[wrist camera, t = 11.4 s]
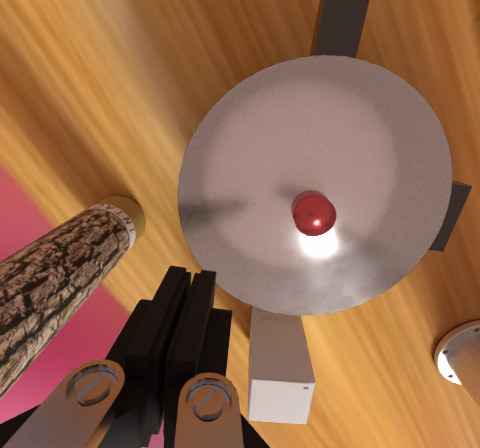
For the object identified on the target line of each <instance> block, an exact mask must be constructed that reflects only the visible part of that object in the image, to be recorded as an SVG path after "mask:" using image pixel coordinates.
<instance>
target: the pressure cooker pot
mask: <svg viewBox="0 0 480 448" xmlns="http://www.w3.org/2000/svg"><path fill="white" fill-rule="evenodd" d="M368 3H369V0H320V4H319V9H318V14H317V20H316V25H315V30H314V36H313V41H312V46H311V52H310V56H319V55H331V56H346V57H351V58H355V57H356V53H357V49H358V45H359V41H360V37H361V32H362V28H363V24H364V20H365V16H366V12H367V7H368ZM471 188H472V186H469V185H467V184H464V183H461V182H458V181H452V187H451V195H450V200H449V205H448V209H447V212H446V215H445V218H444V221H443V223H442V226H441V228H440V230H439V232H438V234H437V236H436V238H435V240H434V242H433V243H432V245H431V246H430V248H429V249H428V250H436V251H444V248H445V246H446V244H447V242H448V239H449V237H450V235H451V233H452V230H453V228H454V226H455V224H456V221H457V219H458V217H459V215H460V212H461V210H462V208H463V206H464V203H465V201H466V199H467V197H468V194H469V192H470V190H471Z"/></svg>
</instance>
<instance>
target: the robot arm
mask: <svg viewBox="0 0 480 448" xmlns="http://www.w3.org/2000/svg"><path fill="white" fill-rule="evenodd" d="M215 283H216V271H208V270H201V273H195V275H194V278H193V281H192V283H191V272H186V268H184V267H176V266H170V267H169V269H168V271H167V273H166V275H165V277H164V279H163V281H162V283H161V284H160V286H159V288H158V290H157V292H156V294H155V296H154V298H153V300H144V299H142V300H140V301H139V302H138V304H137V306H136V307H135V309H134V311H133V312H132V314H131V316H130V317H129V319H128V321H127V322H126V324H125V326H124V328H123V329H122V331H121V333H120V334H119V336H118V338H117V340H116V341H115V343H114V344H113V346H112V348H111V350H110V351H109V353H108V355H107V357H106V358H105V359H100V360H92V361H90V362H87V363H84V364H82V365H80V366H78V367H77V368H75V369H73V370H72V371H71V372H70V373H69V374H68V375H67V376H66V377H65V378H64V379H63V380H62V382H60V383H59V385H58V386H57V387H56V388H55V389H54V390H53V392H52V393H51V394H50V395H49V396H48V397H47V398H46V399H45V400H44V402H43V403H42V404H40V405H38V406H36V407H34V408H32V409H30V410H28V411H26V412H24V413H22V414H20V415H18V416H16V417H14V418H12V419H10V420H8V421H6V422H4V423H2V424H0V448H141V447H148V445H149V442H150V438H151V435H152V434H158V433H159V431H160V427H161V424H162V421H163V417H164V429H163V435H164V448H270V447H269V446H268V445H267V444H266V442H265V441H264V440H263V439H262V438H261V437H260V435H259V434H258V433H257V432H256V431H255V430H254V428H253V427H252V426H251V425H250V424H249V423H248V421H247V420H246V419H245V418H244V417H243V415H242V414H241V413H240V406H239V397H238V394H237V390H236V388H235V387H234V385H233V384H232V382H231V381H230V380H228V379H227V378H226V368H227V358H228V348H229V338H230V328H231V319H232V310H224V309H216V308H213V303H214V293H215ZM434 362H435V365H436V367H437V369H438V370H439V372H440V373H441V374H442V375H443V376H444V377H445V378H446V379H448V380H450V381H452V382H454V383H458V384H462V385H463V387H464V388H465V389H466V390H467V392H468V393H469V394H470V396H471V397H472V398H473V400H474V401H475V402H476V404H477V405H478V406H479V408H480V320H477V321H472V322H469V323H466V324H463V325H461V326H459V327H457V328H455V329H454V330H452V331H450V332H449V333H448V334H447V335H446V336H444V338H443V339H442V340H441V341H440V342H439V344H438V346H437V348H436V350H435V353H434Z"/></svg>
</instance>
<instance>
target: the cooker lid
mask: <svg viewBox="0 0 480 448" xmlns="http://www.w3.org/2000/svg"><path fill="white" fill-rule="evenodd" d="M451 187H452V163H451V154H450V150H449V146H448V141H447V138H446V135H445V133H444V130H443V128H442V125H441V123H440V121H439V119H438V118H437V116H436V114H435V113H434V111H433V109H432V108H431V106H430V105H429V104H428V102H427V101H426V100H425V99H424V98H423V97H422V95H421V94H420V93H419V92H418V91H417V90H416V89H415V88H413V87H412V86H411V85H410V84H409V83H407V82H406V81H405V80H404V79H403V78H401V77H399V76H398V75H396V74H394V73H392V72H391V71H389V70H387V69H386V68H383V67H381V66H378V65H376V64H373V63H370V62H368V61H365V60H360V59H355V58H351V57H346V56H331V55H319V56H309V57H300V58H296V59H292V60H288V61H284V62H280V63H278V64H275V65H273V66H270V67H268V68H265V69H263V70H260V71H259V72H257V73H255V74H253V75H252V76H250V77H248V78H246V79H245V80H243V81H242V82H240V83H239V84H238V85H236V86H235V87H234V88H232V89H231V90H230V91H228V92H227V93H226V94H225V95H224V96H223V97H222V98H221V99H220V100H219V101H218V102H217V103H216V104H215V105H214V106H213V107H212V108H211V109H210V111H209V112H208V113H207V115H206V116H205V117H204V119H203V120H202V121H201V123H200V124H199V126H198V128H197V129H196V131H195V133H194V135H193V137H192V138H191V140H190V143H189V145H188V148H187V150H186V153H185V155H184V158H183V162H182V166H181V170H180V174H179V183H178V211H179V217H180V223H181V227H182V230H183V233H184V236H185V239H186V241H187V244H188V246H189V248H190V250H191V252H192V254H193V256H194V257H195V259H196V260H197V262H198V263H199V265H200V266H201V268H202V269H203V270H208V271H216V284H217V285H219V286H220V287H221V288H222V289H224V290H225V291H226V292H228V293H229V294H230V295H232V296H234V297H235V298H237V299H239V300H241V301H243V302H244V303H247V304H249V305H252V306H254V307H256V308H259V309H263V310H266V311H269V312H274V313H279V314H285V315H297V316H308V315H321V314H329V313H334V312H338V311H342V310H346V309H349V308H352V307H354V306H357V305H360V304H362V303H364V302H367V301H369V300H371V299H373V298H375V297H377V296H378V295H380V294H382V293H383V292H385V291H387V290H388V289H390V288H391V287H392V286H394V285H395V284H396V283H398V282H399V281H400V280H401V279H403V278H404V277H405V276H406V275H407V274H408V273H409V272H410V271H411V270H412V269H413V268H414V267H415V266H416V265H417V263H418V262H419V261H420V260H421V259H422V258H423V256H424V255H425V254H426V252H427V251H428V249H429V248H430V246H431V245H432V243H433V242H434V240H435V238H436V236H437V234H438V232H439V230H440V228H441V226H442V223H443V221H444V218H445V215H446V212H447V209H448V205H449V200H450V195H451Z"/></svg>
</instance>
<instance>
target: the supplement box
mask: <svg viewBox="0 0 480 448" xmlns="http://www.w3.org/2000/svg"><path fill="white" fill-rule="evenodd" d="M315 383H316V382H315V377H314V373H313V368H312V364H311V359H310V355H309V351H308V346H307V342H306V337H305V333H304V329H303V324H302V319H301V316H297V315H285V314H279V313H274V312H269V311H266V310H263V309H259V308H256V307H254V306H252V316H251V328H250V339H249V376H248V420H252V421H265V422H279V423H297V424H306V423H307V420H308V415H309V411H310V406H311V402H312V397H313V392H314V387H315Z"/></svg>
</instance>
